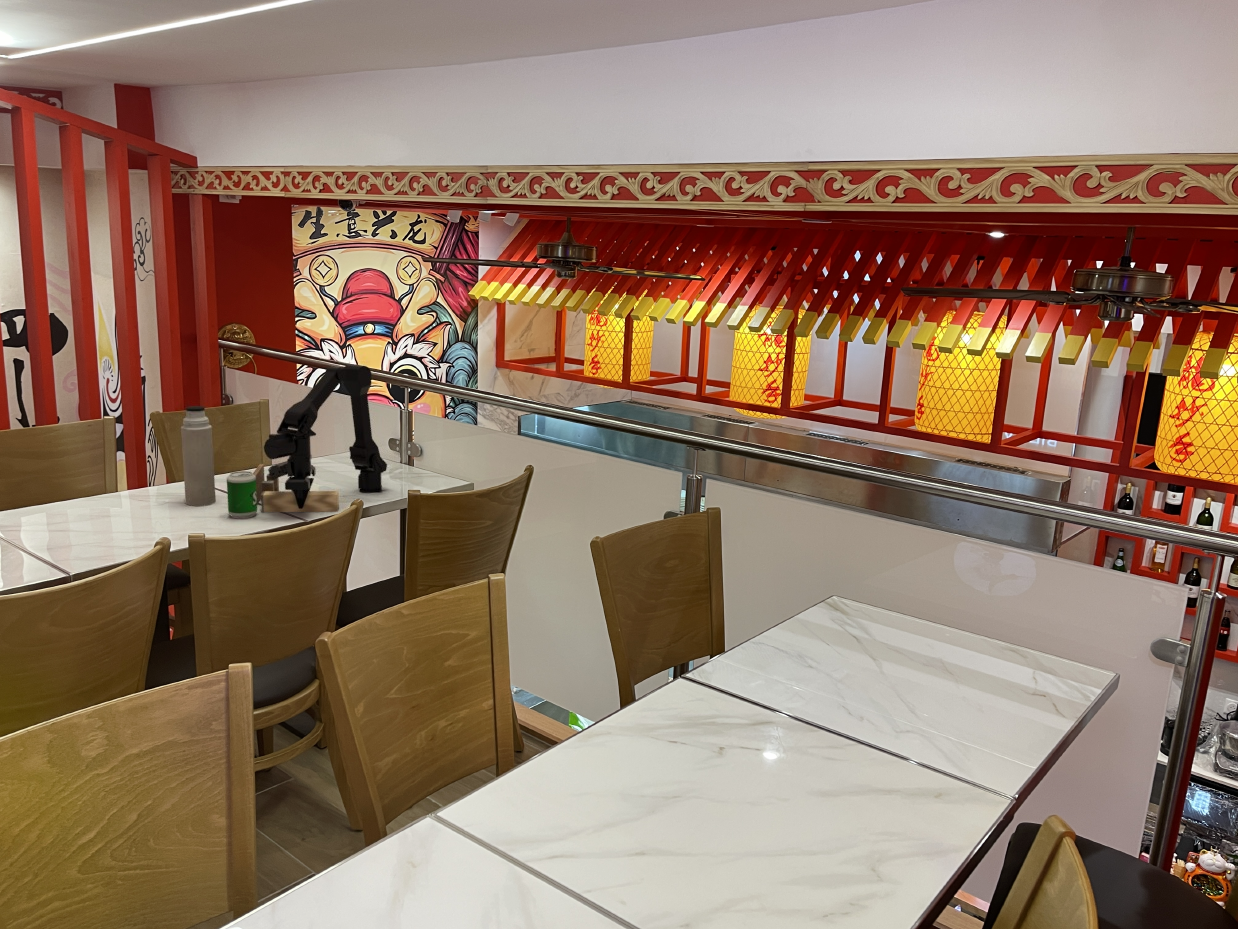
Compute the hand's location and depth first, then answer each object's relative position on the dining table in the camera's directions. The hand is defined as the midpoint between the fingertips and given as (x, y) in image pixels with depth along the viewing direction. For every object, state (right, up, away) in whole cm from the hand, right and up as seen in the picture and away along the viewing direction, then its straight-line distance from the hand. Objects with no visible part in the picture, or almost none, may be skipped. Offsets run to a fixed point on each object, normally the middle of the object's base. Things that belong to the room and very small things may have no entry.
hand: (301, 506), depth 270 cm
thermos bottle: (-30, +1, +3) cm, 30 cm away
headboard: (-13, +2, +9) cm, 16 cm away
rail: (0, -1, 0) cm, 1 cm away
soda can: (-14, -2, -7) cm, 16 cm away
